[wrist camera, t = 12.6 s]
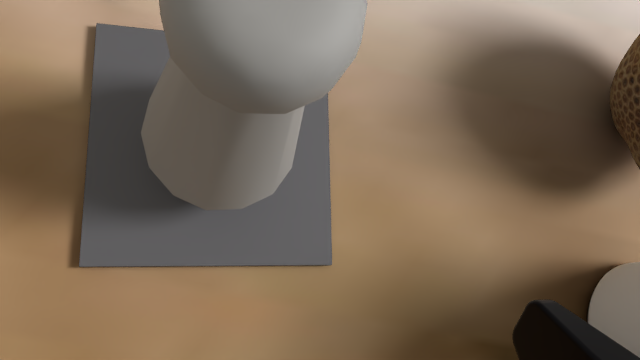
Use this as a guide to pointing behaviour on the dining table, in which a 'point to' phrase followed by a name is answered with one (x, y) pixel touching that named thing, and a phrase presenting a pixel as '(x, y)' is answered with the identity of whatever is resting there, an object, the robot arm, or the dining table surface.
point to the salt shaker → (242, 91)
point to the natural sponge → (628, 99)
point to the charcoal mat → (172, 212)
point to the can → (618, 306)
